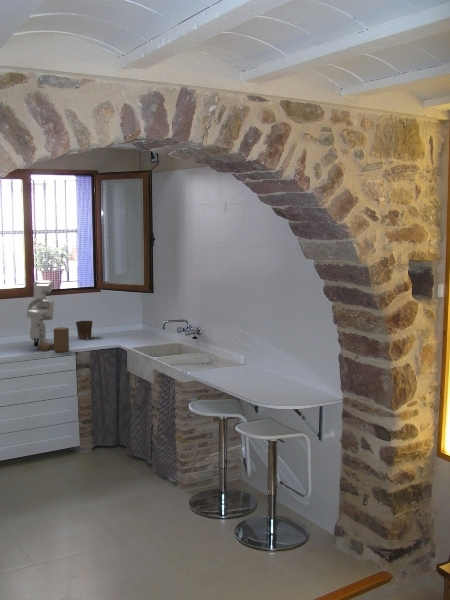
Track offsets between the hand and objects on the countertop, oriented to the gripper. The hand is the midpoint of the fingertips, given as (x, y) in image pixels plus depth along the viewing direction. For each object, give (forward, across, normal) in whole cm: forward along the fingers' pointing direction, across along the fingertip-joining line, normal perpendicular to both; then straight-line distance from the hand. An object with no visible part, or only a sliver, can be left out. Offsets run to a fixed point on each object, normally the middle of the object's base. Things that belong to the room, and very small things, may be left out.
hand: (36, 346), depth 587 cm
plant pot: (+3, -9, -62) cm, 63 cm away
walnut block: (+3, -10, 0) cm, 10 cm away
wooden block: (+3, -26, 0) cm, 26 cm away
